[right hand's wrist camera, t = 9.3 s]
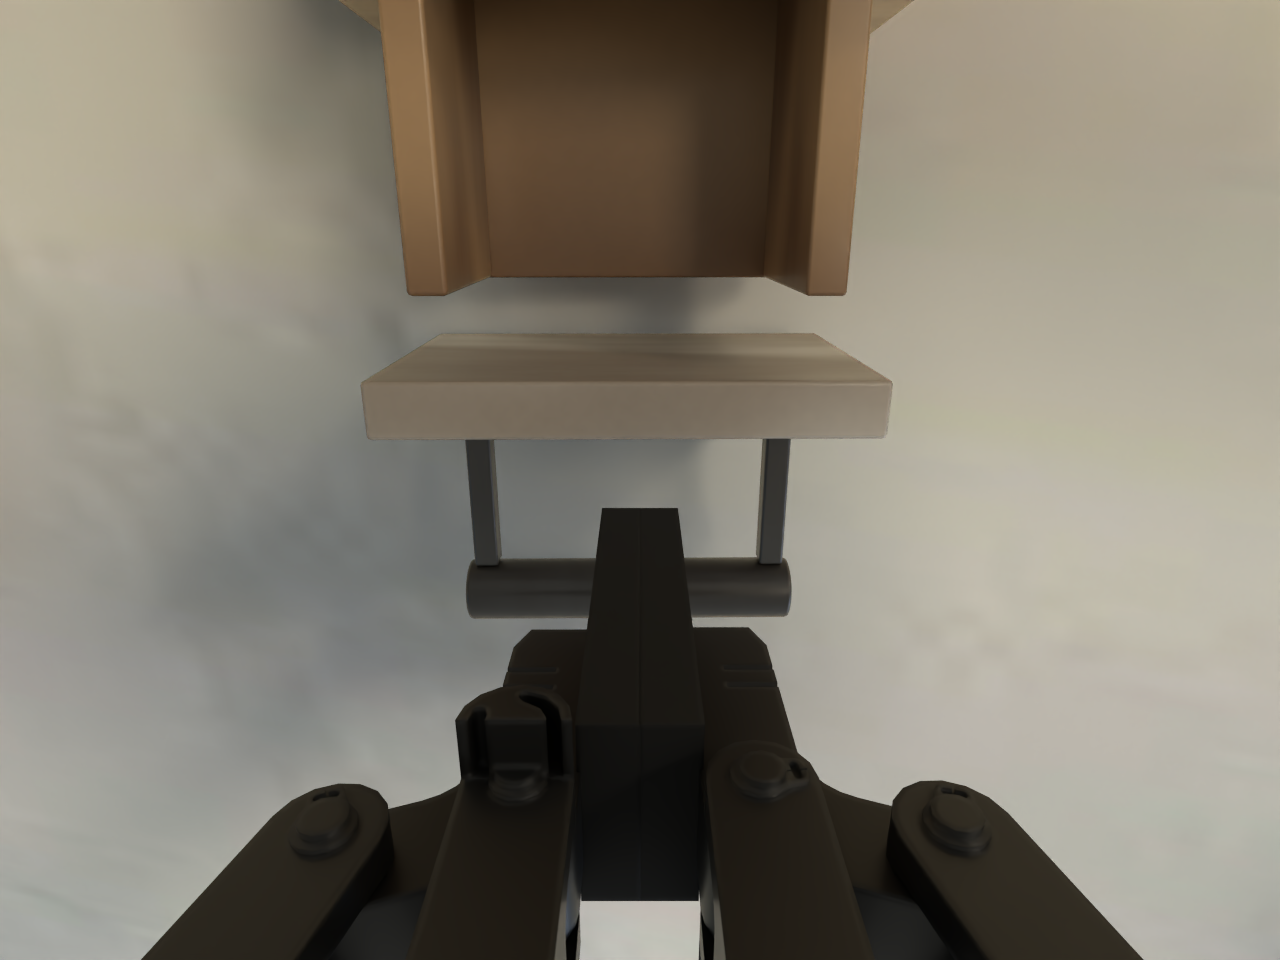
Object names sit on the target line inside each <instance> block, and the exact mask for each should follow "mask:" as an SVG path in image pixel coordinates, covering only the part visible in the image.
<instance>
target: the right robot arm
mask: <svg viewBox="0 0 1280 960" xmlns="http://www.w3.org/2000/svg"><path fill="white" fill-rule="evenodd" d="M455 722H456V732H457V742H458V751H459V761H460V771H461V781H460V784H458V785H457V786H456V787H454V788H452V789H450V790H448V791H446V792H444V793H442V794H441V795H438V796H435V797H432V798H429V799H426V800H423V801H419V802H415V803H411V804H407V805H403V806H399V807H395V808H391V809H388V804H387V802H386V801H385V800H384V799H383V797H382V796H381V795H380V794H379V792H378V791H376V790H373V789H371V788H369V787H366V786H364V785H361V784H335V785H331V786H326V787H322V788H318V789H314V790H312V791H310V792H308V793H306V794H304V795H302V796H300V797H298V798H296V799H294V800H292V801H291V802H289V803H288V804H287V805H286V806H284V807H283V808H282V809H281V810H280V811H278V812H277V813H276V814H275V815H274V816H272V818H271V819H270V820H269V821H268V822H267V823H266V824H265V825H264V826H263V827H262V828H261V829H260V831H259V832H258V833H257V834H256V835H255V836H254V837H253V838H252V839H251V840H250V841H249V843H248V844H247V845H246V846H245V847H244V848H243V849H242V850H241V851H240V852H239V853H238V855H237V856H236V857H235V858H234V859H233V860H232V861H231V862H230V863H229V864H228V865H227V867H226V868H225V869H224V870H223V871H222V872H221V873H220V874H219V875H218V876H217V877H216V879H215V880H214V881H213V882H212V883H211V884H210V885H209V886H208V887H207V888H206V889H205V891H204V892H203V893H202V894H201V895H200V896H199V897H198V898H197V899H196V900H195V901H194V903H193V904H192V905H191V906H190V907H189V908H188V909H187V910H186V911H185V912H184V913H183V915H182V916H181V917H180V918H179V919H178V920H177V921H176V922H175V923H174V924H173V925H172V927H171V928H170V929H169V930H168V931H167V932H166V933H165V934H164V935H163V936H162V937H161V938H160V940H159V941H158V942H157V943H156V944H155V945H154V946H153V947H152V948H151V949H150V950H149V952H148V953H147V954H146V955H145V956H144V957H143V958H142V959H141V960H579V955H580V942H581V941H580V915H579V910H580V898H581V901H699V895H700V906H701V915H700V941H699V960H1143V959H1142V958H1141V957H1140V955H1139V954H1138V953H1137V952H1136V951H1135V950H1134V949H1133V948H1132V947H1131V946H1130V945H1129V944H1128V943H1127V941H1126V940H1125V939H1124V938H1123V937H1122V936H1121V935H1120V934H1119V933H1118V932H1117V931H1116V930H1115V928H1114V927H1113V926H1112V925H1111V924H1110V923H1109V922H1108V921H1107V920H1106V919H1105V918H1104V917H1103V915H1102V914H1101V913H1100V912H1099V911H1098V910H1097V909H1096V908H1095V907H1094V906H1093V905H1092V904H1091V902H1090V901H1089V900H1088V899H1087V898H1086V897H1085V896H1084V895H1083V894H1082V893H1081V892H1080V891H1079V889H1078V888H1077V887H1076V886H1075V885H1074V884H1073V883H1072V882H1071V881H1070V880H1069V879H1068V878H1067V876H1066V875H1065V874H1064V873H1063V872H1062V871H1061V870H1060V869H1059V868H1058V867H1057V866H1056V865H1055V863H1054V862H1053V861H1052V860H1051V859H1050V858H1049V857H1048V856H1047V855H1046V854H1045V853H1044V852H1043V850H1042V849H1041V848H1040V847H1039V846H1038V845H1037V844H1036V843H1035V842H1034V841H1033V840H1032V839H1031V837H1030V836H1029V835H1028V834H1027V833H1026V832H1025V831H1024V830H1023V829H1022V828H1021V827H1020V826H1019V824H1018V823H1017V822H1016V821H1015V820H1014V819H1013V818H1012V817H1011V816H1010V815H1009V814H1008V813H1007V812H1006V811H1005V810H1004V809H1002V808H1001V807H1000V806H999V805H998V804H996V803H995V802H994V801H993V800H991V799H990V798H989V797H987V796H985V795H983V794H981V793H979V792H977V791H975V790H973V789H971V788H969V787H966V786H963V785H959V784H954V783H950V782H946V781H919V782H917V783H914V784H912V785H909V786H907V787H904V788H903V789H902V790H901V791H900V792H899V794H898V795H897V796H896V797H895V799H894V800H893V803H892V806H889V805H885V804H881V803H877V802H873V801H869V800H865V799H861V798H857V797H854V796H851V795H848V794H845V793H842V792H839V791H837V790H836V789H834V788H832V787H830V786H828V785H826V784H824V783H823V782H822V781H820V780H819V777H818V776H817V774H816V772H815V771H814V769H813V767H812V765H811V764H810V762H808V761H807V760H806V759H805V758H803V757H802V756H801V755H800V754H798V752H797V749H796V746H795V742H794V739H793V736H792V732H791V729H790V725H789V722H788V718H787V715H786V711H785V708H784V704H783V701H782V697H781V694H780V691H779V687H777V680H776V677H775V673H774V670H772V663H771V659H770V656H769V652H768V649H767V646H766V644H765V643H764V642H763V641H762V640H761V639H760V638H759V637H758V636H757V635H756V634H755V633H754V632H753V631H752V630H751V629H750V628H749V627H693V625H692V618H691V610H690V602H689V594H688V586H687V578H686V570H685V562H684V554H683V546H682V538H681V530H680V522H679V514H678V508H602V514H601V522H600V530H599V538H598V546H597V554H596V562H595V570H594V578H593V586H592V594H591V602H590V610H589V618H588V625H587V630H531V631H530V632H529V633H528V634H527V635H526V636H525V637H524V638H523V639H522V640H521V641H520V642H519V643H518V644H517V645H516V646H515V647H514V648H513V652H512V655H511V659H510V662H509V666H508V672H507V673H506V676H505V680H504V683H503V687H500V688H498V689H495V690H492V691H489V692H487V693H484V694H481V695H479V696H478V697H477V698H475V699H474V700H472V701H471V702H470V703H468V704H467V705H465V706H464V708H463V709H462V711H461V712H460V714H459V715H458V717H457V718H456V720H455Z"/></svg>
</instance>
